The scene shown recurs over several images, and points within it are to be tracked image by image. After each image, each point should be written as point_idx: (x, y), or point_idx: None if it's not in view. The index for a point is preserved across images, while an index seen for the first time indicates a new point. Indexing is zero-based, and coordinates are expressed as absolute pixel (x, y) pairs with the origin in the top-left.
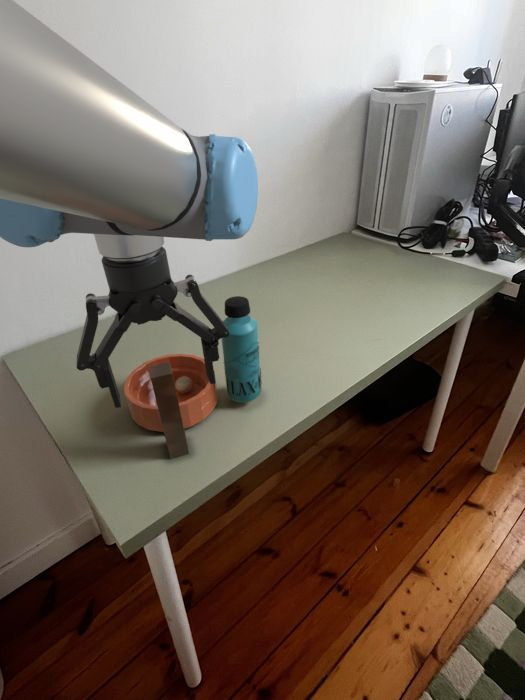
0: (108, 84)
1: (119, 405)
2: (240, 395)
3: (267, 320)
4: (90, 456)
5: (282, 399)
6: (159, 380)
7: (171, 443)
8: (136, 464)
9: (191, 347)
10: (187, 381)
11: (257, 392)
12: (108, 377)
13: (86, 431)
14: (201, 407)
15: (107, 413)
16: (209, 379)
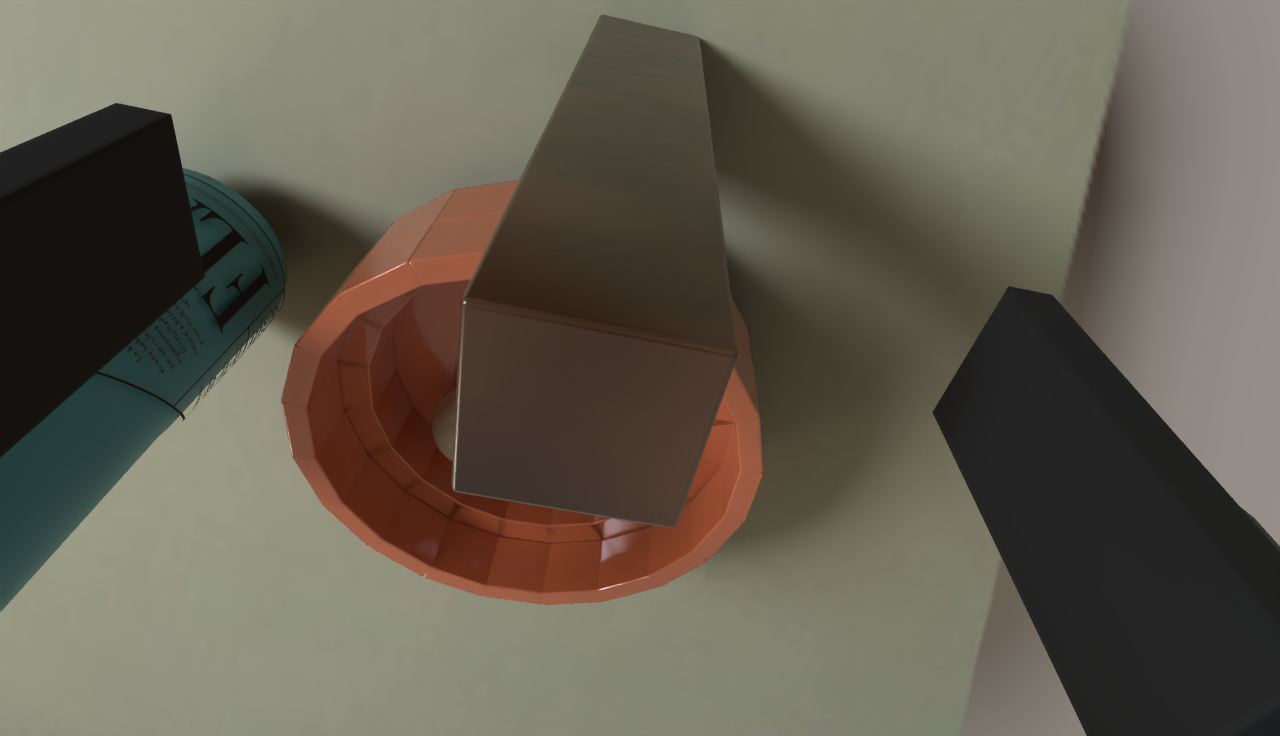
0: None
1: (1025, 298)
2: (197, 201)
3: (54, 584)
4: (989, 276)
5: (11, 110)
6: (644, 301)
7: (677, 58)
8: (855, 108)
9: (395, 593)
10: (451, 427)
11: None
12: (1268, 567)
13: (926, 410)
14: (431, 224)
15: (813, 453)
16: (151, 157)
